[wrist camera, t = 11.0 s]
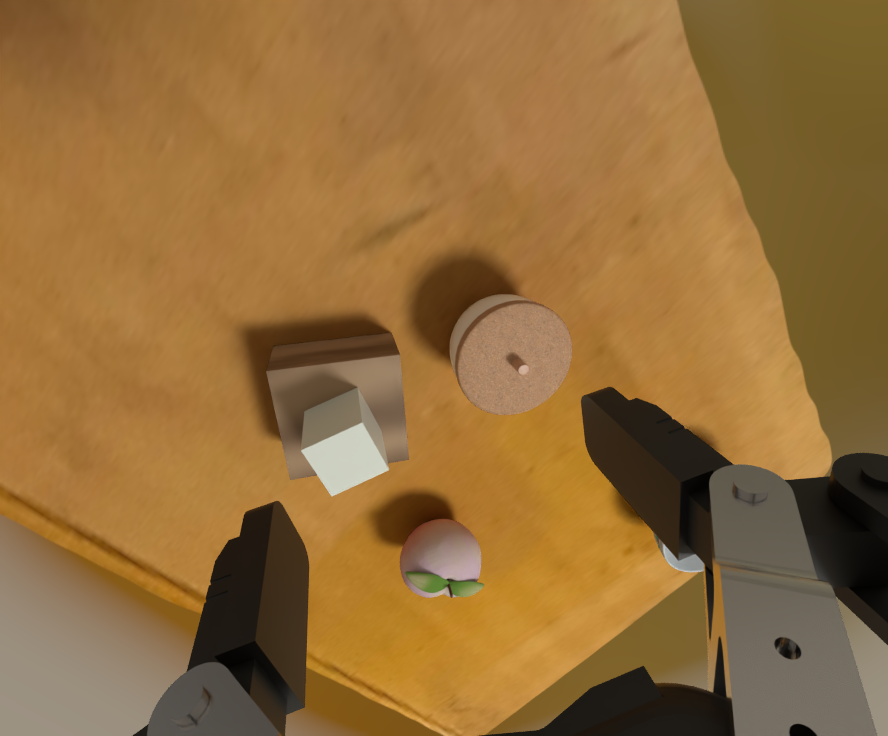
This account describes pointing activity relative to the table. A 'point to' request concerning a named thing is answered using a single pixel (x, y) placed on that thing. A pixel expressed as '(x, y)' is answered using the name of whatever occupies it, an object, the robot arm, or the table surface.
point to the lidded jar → (509, 353)
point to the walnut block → (337, 389)
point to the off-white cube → (343, 442)
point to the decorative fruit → (441, 560)
